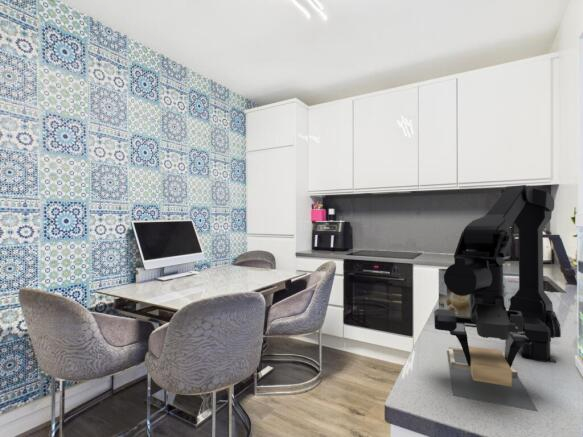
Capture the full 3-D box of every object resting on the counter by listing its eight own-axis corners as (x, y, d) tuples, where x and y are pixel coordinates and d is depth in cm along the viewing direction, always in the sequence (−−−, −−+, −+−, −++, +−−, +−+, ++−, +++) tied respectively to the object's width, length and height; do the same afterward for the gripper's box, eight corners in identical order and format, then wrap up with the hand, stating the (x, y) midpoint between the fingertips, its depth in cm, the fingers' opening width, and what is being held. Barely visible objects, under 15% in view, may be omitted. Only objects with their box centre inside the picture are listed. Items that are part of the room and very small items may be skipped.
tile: (467, 360, 66) (467, 346, 66) (501, 365, 64) (500, 350, 64) (473, 380, 58) (472, 363, 58) (511, 386, 56) (511, 369, 56)
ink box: (530, 307, 117) (529, 276, 117) (534, 311, 113) (533, 278, 113) (502, 305, 121) (502, 275, 121) (505, 309, 116) (505, 277, 116)
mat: (446, 352, 79) (446, 350, 79) (508, 361, 74) (508, 358, 74) (453, 398, 59) (453, 395, 59) (538, 414, 53) (538, 411, 53)
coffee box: (447, 318, 106) (446, 271, 106) (438, 313, 112) (437, 268, 112) (474, 318, 106) (473, 270, 106) (463, 312, 112) (462, 268, 113)
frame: (448, 352, 78) (448, 347, 78) (507, 360, 73) (507, 355, 73) (451, 368, 69) (451, 362, 69) (517, 378, 64) (517, 372, 65)
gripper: (434, 293, 58) (436, 378, 57) (562, 302, 50) (564, 400, 50) (433, 282, 68) (435, 354, 68) (539, 288, 60) (541, 369, 60)
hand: (487, 367), depth 61 cm, fingers closed on tile, 6 cm apart
